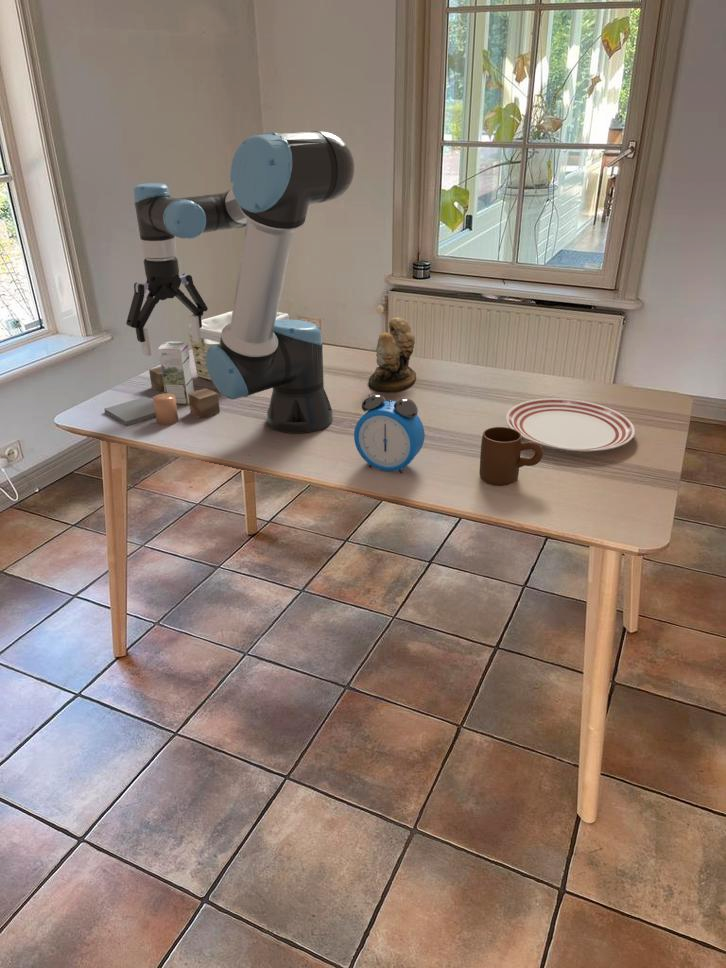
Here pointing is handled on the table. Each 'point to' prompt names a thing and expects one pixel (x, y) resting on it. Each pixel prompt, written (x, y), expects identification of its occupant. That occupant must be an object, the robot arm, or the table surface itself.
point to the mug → (505, 455)
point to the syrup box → (176, 370)
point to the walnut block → (204, 403)
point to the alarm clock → (389, 432)
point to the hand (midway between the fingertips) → (172, 347)
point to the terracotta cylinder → (165, 409)
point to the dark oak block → (157, 379)
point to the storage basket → (212, 339)
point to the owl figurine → (394, 358)
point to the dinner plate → (570, 424)
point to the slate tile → (132, 411)
